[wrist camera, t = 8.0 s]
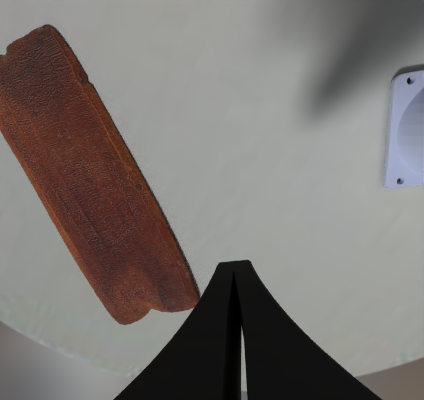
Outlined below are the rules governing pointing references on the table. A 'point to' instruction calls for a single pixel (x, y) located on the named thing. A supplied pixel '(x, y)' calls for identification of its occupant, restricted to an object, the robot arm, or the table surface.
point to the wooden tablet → (89, 180)
